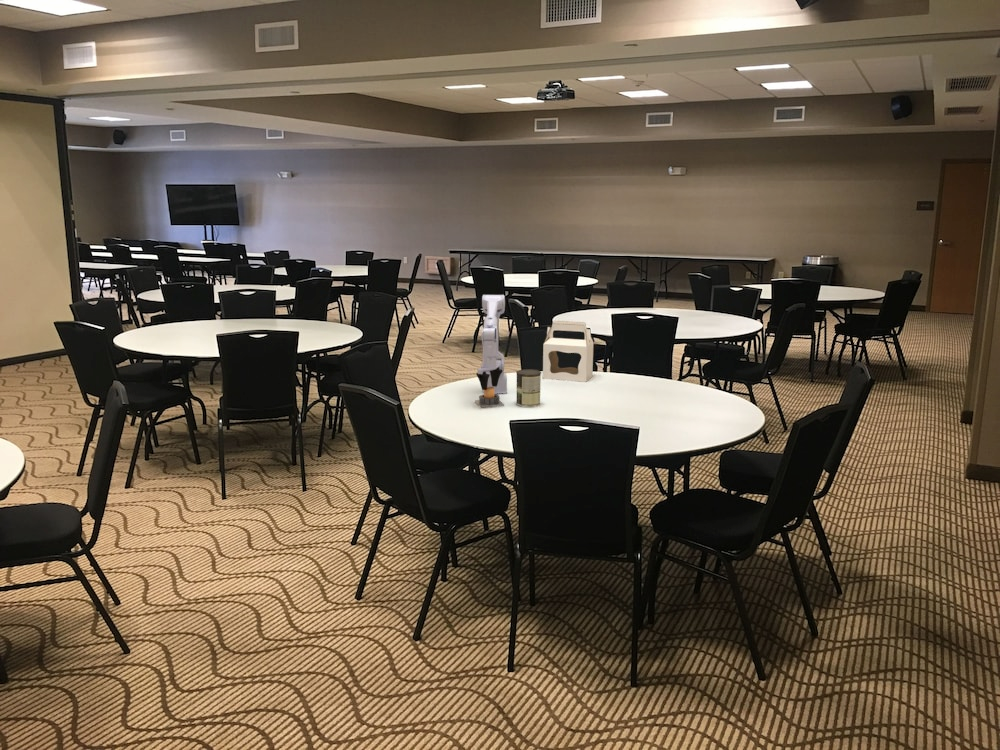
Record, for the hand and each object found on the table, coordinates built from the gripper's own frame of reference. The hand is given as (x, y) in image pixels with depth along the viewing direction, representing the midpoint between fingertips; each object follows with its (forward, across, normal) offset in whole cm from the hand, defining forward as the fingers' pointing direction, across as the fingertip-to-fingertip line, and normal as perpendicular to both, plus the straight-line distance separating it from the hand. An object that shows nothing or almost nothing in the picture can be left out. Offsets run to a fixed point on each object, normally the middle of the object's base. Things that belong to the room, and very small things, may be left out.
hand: (489, 387), depth 322 cm
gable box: (+8, -67, +1) cm, 67 cm away
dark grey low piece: (+7, 0, 0) cm, 7 cm away
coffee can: (+7, -10, +13) cm, 18 cm away
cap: (+6, 0, 0) cm, 6 cm away
